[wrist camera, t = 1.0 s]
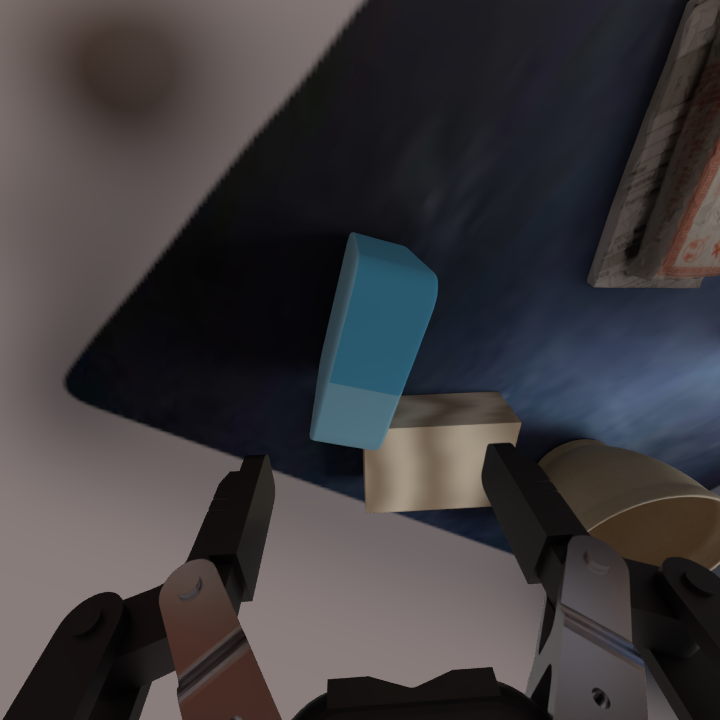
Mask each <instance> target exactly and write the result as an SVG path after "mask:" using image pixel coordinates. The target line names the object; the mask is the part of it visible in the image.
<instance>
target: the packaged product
mask: <svg viewBox="0 0 720 720" xmlns="http://www.w3.org/2000/svg"><path fill="white" fill-rule="evenodd" d="M718 275H720V0H690V1H689V2H688V3H687V5H686V7H685V10H684V13H683V15H682V18H681V21H680V24H679V27H678V29H677V32H676V35H675V38H674V41H673V43H672V46H671V49H670V52H669V55H668V58H667V61H666V64H665V66H664V69H663V71H662V74H661V76H660V79H659V81H658V84H657V86H656V89H655V91H654V94H653V96H652V99H651V101H650V104H649V106H648V109H647V111H646V114H645V116H644V119H643V122H642V125H641V127H640V130H639V133H638V136H637V138H636V141H635V144H634V146H633V149H632V152H631V154H630V157H629V160H628V162H627V165H626V167H625V170H624V173H623V175H622V178H621V181H620V184H619V186H618V189H617V192H616V195H615V197H614V200H613V203H612V206H611V209H610V211H609V214H608V217H607V220H606V223H605V226H604V229H603V232H602V235H601V238H600V241H599V244H598V247H597V251H596V254H595V257H594V260H593V263H592V266H591V269H590V272H589V275H588V279H587V283H588V284H590V285H591V286H592V287H603V288H700V286H701V283H702V280H703V278H704V277H706V276H709V277H714V276H718Z"/></svg>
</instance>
